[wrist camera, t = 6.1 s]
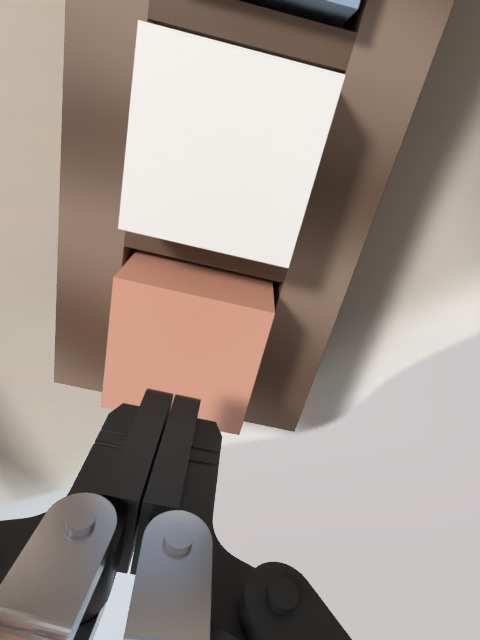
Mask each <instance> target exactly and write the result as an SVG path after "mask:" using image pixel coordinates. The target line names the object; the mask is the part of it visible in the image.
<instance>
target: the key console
mask: <svg viewBox="0 0 480 640" xmlns="http://www.w3.org/2000/svg"><path fill="white" fill-rule="evenodd" d="M454 1H455V0H360V4H359V7H358V10H357V11H356V12H355V13H354V14H353V15H352V16H351V17H350V18H349V19H348V20H347V21H346V22H345V23H344V24H343V25H342V26H341V27H340V28H338V27H334V26H330V25H327V24H323V23H319V22H316V21H312V20H308V19H304V18H301V17H297V16H293V15H290V14H286V13H282V12H279V11H275V10H271V9H268V8H264V7H260V6H257V5H253V4H249V3H246V2H242V1H238V0H66V6H65V38H64V71H63V104H62V137H61V169H60V202H59V235H58V268H57V300H56V333H55V366H54V382H56V383H61V384H66V385H71V386H76V387H81V388H85V389H90V390H95V391H100V392H102V391H103V380H104V370H105V359H106V349H107V339H108V328H109V318H110V307H111V297H112V286H113V277H114V276H115V275H116V274H117V272H118V271H119V270H120V269H121V268H122V267H123V266H124V264H125V263H126V262H127V261H128V260H129V259H130V258H131V256H132V255H133V254H134V253H135V252H136V251H137V250H143V251H147V252H151V253H156V254H160V255H164V256H169V257H173V258H178V259H182V260H186V261H191V262H195V263H199V264H204V265H208V266H212V267H217V268H221V269H226V270H230V271H234V272H239V273H243V274H247V275H252V276H256V277H260V278H265V279H269V280H272V281H273V294H274V306H275V315H274V319H273V322H272V326H271V329H270V332H269V336H268V339H267V342H266V346H265V349H264V353H263V356H262V359H261V363H260V366H259V369H258V373H257V376H256V380H255V383H254V386H253V390H252V393H251V397H250V400H249V403H248V407H247V410H246V413H245V417H244V420H243V421H246V422H250V423H255V424H260V425H265V426H270V427H275V428H280V429H284V430H289V431H295V428H296V425H297V423H298V420H299V417H300V415H301V412H302V409H303V407H304V404H305V401H306V399H307V396H308V393H309V391H310V388H311V385H312V382H313V380H314V377H315V374H316V372H317V369H318V366H319V364H320V361H321V358H322V356H323V353H324V350H325V348H326V345H327V342H328V339H329V337H330V334H331V331H332V329H333V326H334V323H335V321H336V318H337V315H338V313H339V310H340V307H341V305H342V302H343V299H344V297H345V294H346V291H347V288H348V286H349V283H350V280H351V278H352V275H353V272H354V270H355V267H356V264H357V262H358V259H359V256H360V254H361V251H362V248H363V245H364V243H365V240H366V237H367V235H368V232H369V229H370V227H371V224H372V221H373V219H374V216H375V213H376V211H377V208H378V205H379V202H380V200H381V197H382V194H383V192H384V189H385V186H386V184H387V181H388V178H389V176H390V173H391V170H392V168H393V165H394V162H395V159H396V157H397V154H398V151H399V149H400V146H401V143H402V141H403V138H404V135H405V133H406V130H407V127H408V125H409V122H410V119H411V117H412V114H413V111H414V108H415V106H416V103H417V100H418V98H419V95H420V92H421V90H422V87H423V84H424V82H425V79H426V76H427V74H428V71H429V68H430V65H431V63H432V60H433V57H434V55H435V52H436V49H437V47H438V44H439V41H440V39H441V36H442V33H443V31H444V28H445V25H446V22H447V20H448V17H449V14H450V12H451V9H452V6H453V4H454ZM138 20H141V21H145V22H148V23H152V24H156V25H160V26H164V27H167V28H171V29H175V30H179V31H182V32H186V33H190V34H194V35H198V36H201V37H205V38H209V39H213V40H216V41H220V42H224V43H228V44H232V45H235V46H239V47H243V48H247V49H250V50H254V51H258V52H262V53H266V54H269V55H273V56H277V57H281V58H284V59H288V60H292V61H296V62H300V63H303V64H307V65H311V66H315V67H318V68H322V69H326V70H330V71H334V72H337V73H341V74H345V79H344V82H343V85H342V89H341V92H340V96H339V99H338V102H337V106H336V109H335V113H334V116H333V119H332V123H331V126H330V129H329V133H328V136H327V140H326V143H325V146H324V150H323V153H322V156H321V160H320V163H319V167H318V170H317V173H316V177H315V180H314V184H313V187H312V190H311V194H310V197H309V200H308V204H307V207H306V211H305V214H304V217H303V221H302V224H301V227H300V231H299V234H298V238H297V241H296V244H295V248H294V251H293V255H292V258H291V261H290V265H289V268H285V267H280V266H276V265H272V264H267V263H263V262H259V261H254V260H250V259H246V258H242V257H237V256H233V255H229V254H224V253H220V252H216V251H211V250H207V249H203V248H198V247H194V246H190V245H185V244H181V243H177V242H172V241H168V240H164V239H160V238H155V237H151V236H147V235H142V234H138V233H134V232H129V231H125V230H121V229H118V224H119V213H120V203H121V192H122V182H123V171H124V161H125V150H126V140H127V130H128V119H129V109H130V98H131V88H132V77H133V67H134V56H135V46H136V36H137V25H138Z"/></svg>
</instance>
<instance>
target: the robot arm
mask: <svg viewBox="0 0 480 640" xmlns="http://www.w3.org/2000/svg"><path fill="white" fill-rule="evenodd" d="M172 401H173V404H172ZM200 403H201V399H197V398H192V397H187V396H182V395H178V394H175V397H174V400H173V394H172V393H168V392H163V391H158V390H153V389H148V388H147V390H146V392H145V394H144V397H143V399H142V401H141V404H140V406H136V405H131V404H126V403H122V404H121V405H120V406H118V407H117V408H116V409H115V410H113V411H112V412H111V413H109V415H108V417H107V419H106V421H105V423H104V425H103V427H102V429H101V431H100V433H99V435H98V437H97V438H96V440H95V444H93V446H92V448H91V450H90V452H89V454H88V456H87V458H86V460H85V462H84V464H83V466H82V468H81V470H80V472H79V474H78V476H77V478H76V480H75V482H74V484H73V486H72V488H71V490H70V492H69V493H68V495H67V496H66V497H64V498H62V499H61V500H59V501H57V502H56V503H55V504H54V505H53V506H52V507H51V508H49V510H48V511H47V512H45V513H43V514H40V515H37V516H34V517H30V518H23V519H15V520H5V521H0V640H93V637H94V634H95V632H96V629H97V627H98V624H99V622H100V619H101V616H102V614H103V611H104V608H105V603H106V602H107V600H108V597H109V595H110V592H111V588H112V585H113V582H114V579H115V575H116V572H122V573H127V572H128V569H129V565H130V562H131V558H132V555H133V551H134V555H133V561H132V566H131V572H130V574H134V575H136V576H135V581H134V587H133V592H132V597H131V602H130V607H129V612H128V618H127V623H126V628H125V633H124V639H123V640H352V639H351V638H350V637H349V636H348V634H347V633H346V631H345V630H344V629H343V627H342V626H341V625H340V624H339V622H338V621H337V619H336V618H335V617H334V616H333V614H332V613H331V612H330V610H329V609H328V607H327V606H326V605H325V603H324V602H323V601H322V600H321V598H320V597H319V596H318V594H317V593H316V592H315V590H314V589H313V588H312V586H311V585H310V584H309V582H308V581H307V580H306V579H305V577H304V576H303V575H302V574H301V573H299V572H298V571H297V570H296V569H294V568H293V567H291V566H289V565H287V564H283V563H280V562H268V563H263V564H261V565H259V566H258V567H256V568H254V567H252V566H250V565H248V564H246V563H245V562H243V561H241V560H239V559H237V558H236V557H234V556H233V555H231V554H230V553H229V552H227V551H226V550H225V549H224V548H223V546H222V545H221V544H220V542H219V541H218V539H217V537H216V535H215V533H214V529H213V523H212V520H213V519H212V518H213V509H214V501H215V492H216V483H217V475H218V466H219V457H220V450H221V441H222V436H221V433H220V431H219V428H218V426H217V423H216V422H214V421H209V420H204V419H199V418H197V417H198V412H199V407H200ZM171 406H172V407H171ZM134 548H135V549H134Z"/></svg>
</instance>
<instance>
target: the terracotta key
mask: <svg viewBox="0 0 480 640" xmlns="http://www.w3.org/2000/svg"><path fill="white" fill-rule="evenodd" d="M274 315H275V306H274V294H273V281H272V280H269V279H265V278H260V277H256V276H252V275H247V274H243V273H239V272H234V271H230V270H226V269H221V268H217V267H212V266H208V265H204V264H199V263H195V262H191V261H186V260H182V259H178V258H173V257H169V256H164V255H160V254H156V253H151V252H147V251H143V250H137V251H136V252H135V253H134V254H133V255H132V256H131V258H130V259H129V260H128V261H127V262H126V263H125V264H124V266H123V267H122V268H121V269H120V270H119V271H118V272H117V274H116V275H115V276H114V277H113V286H112V297H111V307H110V318H109V328H108V339H107V349H106V359H105V370H104V380H103V391H102V401H101V407H105V408H110V409H114V410H115V409H116V408H117V407H118V406H120V405H121V404H122V403H126V404H131V405H136V406H140V404H141V401H142V399H143V397H144V394H145V392H146V390H147V388H148V389H153V390H158V391H163V392H168V393H172V394H173V400H174V397H175V394H178V395H182V396H187V397H192V398H197V399H201V403H200V407H199V412H198V417H197V418H199V419H204V420H209V421H214V422H216V423H217V426H218V428H219V431H222V432H227V433H232V434H237V435H239V434H240V430H241V427H242V424H243V420H244V417H245V413H246V410H247V407H248V403H249V400H250V397H251V393H252V390H253V386H254V383H255V380H256V376H257V373H258V369H259V366H260V363H261V359H262V356H263V353H264V349H265V346H266V342H267V339H268V336H269V332H270V329H271V326H272V322H273V319H274ZM172 404H173V401H172ZM171 407H172V406H171Z"/></svg>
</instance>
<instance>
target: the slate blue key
mask: <svg viewBox="0 0 480 640" xmlns="http://www.w3.org/2000/svg"><path fill="white" fill-rule="evenodd" d="M238 1H242V2H246V3H249V4H253V5H257V6H260V7H264V8H268V9H271V10H275V11H279V12H282V13H286V14H290V15H293V16H297V17H301V18H304V19H308V20H312V21H316V22H319V23H323V24H327V25H330V26H334V27H338V28H340V27H341V26H342V25H343V24H344V23H345V22H346V21H347V20H348V19H349V18H350V17H351V16H352V15H353V14H354V13H355V12H356V11H357V10H358V7H359V4H360V0H238Z"/></svg>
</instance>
